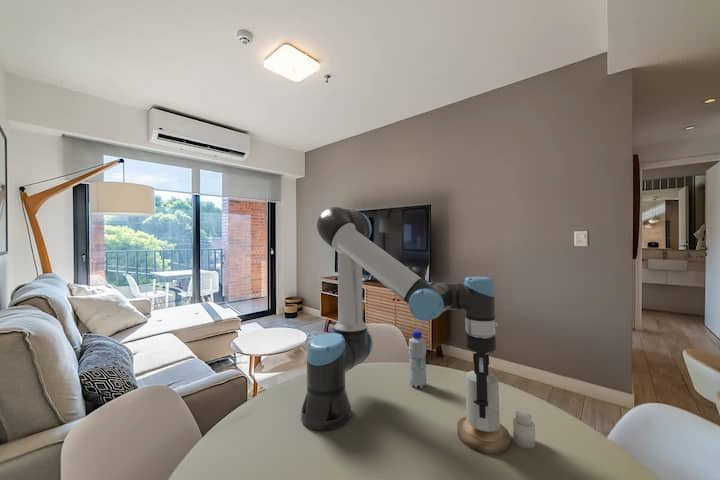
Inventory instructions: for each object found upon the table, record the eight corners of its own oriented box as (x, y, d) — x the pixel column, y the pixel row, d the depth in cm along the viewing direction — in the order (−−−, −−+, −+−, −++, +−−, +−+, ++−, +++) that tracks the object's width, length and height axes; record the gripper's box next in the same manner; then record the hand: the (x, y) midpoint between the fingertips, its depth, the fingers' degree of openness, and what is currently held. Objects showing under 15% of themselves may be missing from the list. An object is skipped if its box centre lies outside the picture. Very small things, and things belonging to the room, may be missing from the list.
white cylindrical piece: (503, 433, 72) (502, 385, 72) (469, 429, 74) (468, 382, 74) (495, 415, 80) (493, 371, 80) (464, 412, 82) (463, 369, 82)
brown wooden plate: (455, 446, 73) (455, 437, 73) (458, 418, 85) (458, 410, 85) (512, 460, 68) (512, 450, 68) (507, 428, 80) (507, 420, 80)
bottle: (405, 382, 109) (405, 329, 109) (421, 380, 111) (420, 328, 111) (414, 390, 102) (413, 334, 103) (430, 388, 104) (429, 332, 105)
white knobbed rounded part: (514, 445, 73) (513, 417, 74) (512, 434, 78) (511, 407, 78) (537, 450, 71) (536, 422, 72) (533, 438, 76) (532, 411, 76)
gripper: (498, 347, 67) (500, 447, 66) (493, 325, 86) (495, 402, 85) (463, 344, 69) (466, 439, 69) (467, 323, 89) (468, 398, 88)
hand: (482, 419), depth 77 cm, fingers closed on white cylindrical piece, 8 cm apart
